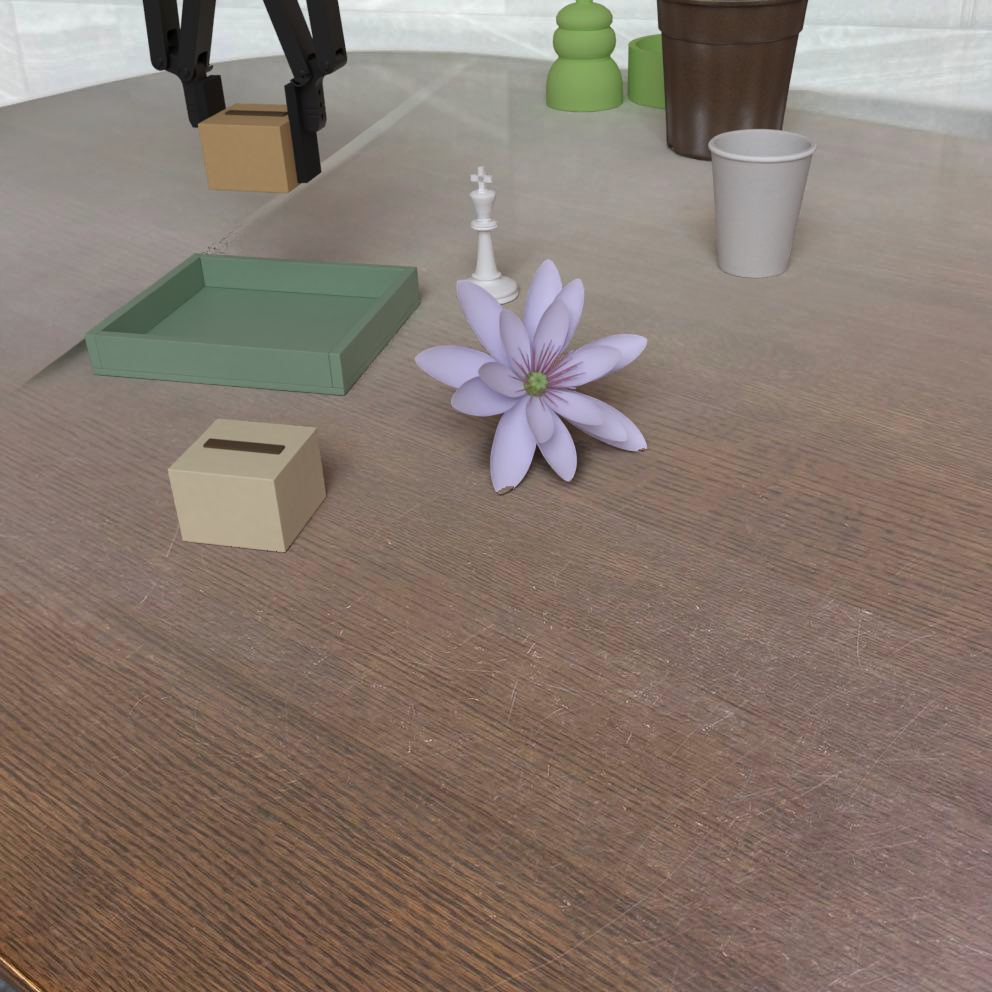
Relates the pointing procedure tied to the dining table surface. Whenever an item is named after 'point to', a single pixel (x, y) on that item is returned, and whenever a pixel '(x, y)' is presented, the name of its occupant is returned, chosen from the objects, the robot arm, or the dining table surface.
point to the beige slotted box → (248, 484)
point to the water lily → (534, 376)
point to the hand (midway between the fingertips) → (265, 175)
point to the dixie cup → (758, 198)
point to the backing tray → (257, 323)
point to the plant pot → (725, 67)
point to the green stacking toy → (600, 63)
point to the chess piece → (488, 243)
